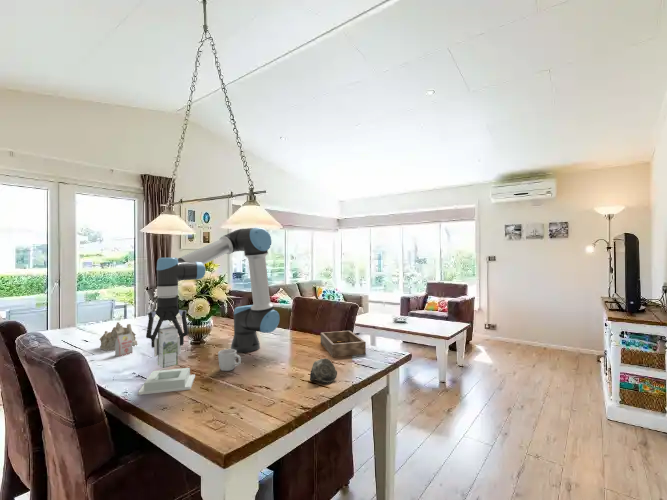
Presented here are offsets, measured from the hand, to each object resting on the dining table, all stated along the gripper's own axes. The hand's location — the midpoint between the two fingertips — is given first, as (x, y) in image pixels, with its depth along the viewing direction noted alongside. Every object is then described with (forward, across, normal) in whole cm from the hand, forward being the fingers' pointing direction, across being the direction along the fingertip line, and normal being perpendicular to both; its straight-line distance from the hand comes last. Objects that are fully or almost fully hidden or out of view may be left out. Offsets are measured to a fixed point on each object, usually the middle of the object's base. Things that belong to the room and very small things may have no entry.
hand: (167, 354), depth 137 cm
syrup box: (+4, 0, 0) cm, 4 cm away
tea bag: (+12, +31, -53) cm, 63 cm away
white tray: (+12, 0, 0) cm, 12 cm away
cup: (+12, -23, -12) cm, 29 cm away
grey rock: (+12, +38, -71) cm, 82 cm away
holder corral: (+12, -80, -30) cm, 86 cm away
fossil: (+12, -60, +12) cm, 62 cm away
